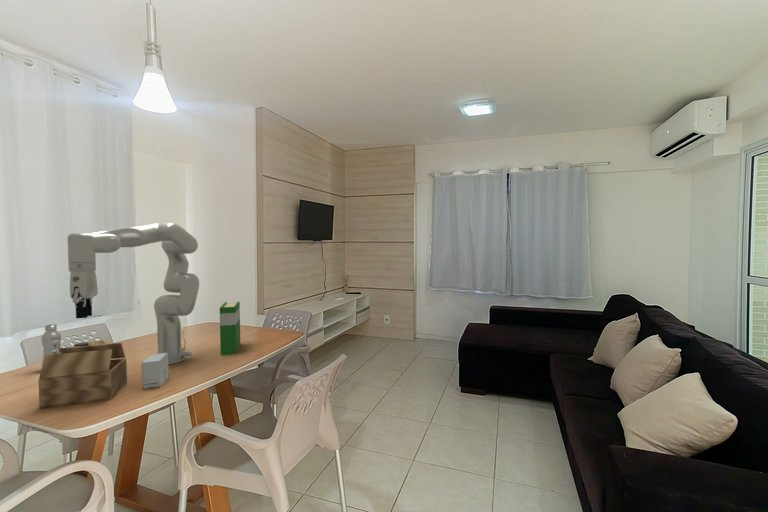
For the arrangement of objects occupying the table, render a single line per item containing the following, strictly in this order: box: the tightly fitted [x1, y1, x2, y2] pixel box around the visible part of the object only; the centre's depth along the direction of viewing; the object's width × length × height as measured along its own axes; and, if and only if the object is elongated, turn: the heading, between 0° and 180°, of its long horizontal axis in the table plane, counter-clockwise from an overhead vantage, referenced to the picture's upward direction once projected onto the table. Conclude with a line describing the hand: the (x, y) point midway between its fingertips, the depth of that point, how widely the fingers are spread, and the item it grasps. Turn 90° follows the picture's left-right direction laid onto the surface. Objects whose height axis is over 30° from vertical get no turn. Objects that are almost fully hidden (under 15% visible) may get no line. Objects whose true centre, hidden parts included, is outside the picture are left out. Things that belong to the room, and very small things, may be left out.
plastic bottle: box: [40, 324, 62, 366], centre depth 153 cm, size 6×7×20 cm
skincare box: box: [141, 353, 170, 389], centre depth 138 cm, size 10×6×10 cm, turn 16°
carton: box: [38, 357, 128, 410], centre depth 127 cm, size 20×16×10 cm
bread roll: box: [87, 340, 107, 345], centre depth 171 cm, size 10×15×8 cm, turn 29°
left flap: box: [38, 349, 112, 380], centre depth 121 cm, size 19×8×1 cm
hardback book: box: [219, 301, 241, 356], centre depth 181 cm, size 18×7×24 cm, turn 17°
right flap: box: [59, 342, 126, 360], centre depth 133 cm, size 19×8×1 cm
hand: (84, 316), depth 126 cm, fingers open, 2 cm apart
